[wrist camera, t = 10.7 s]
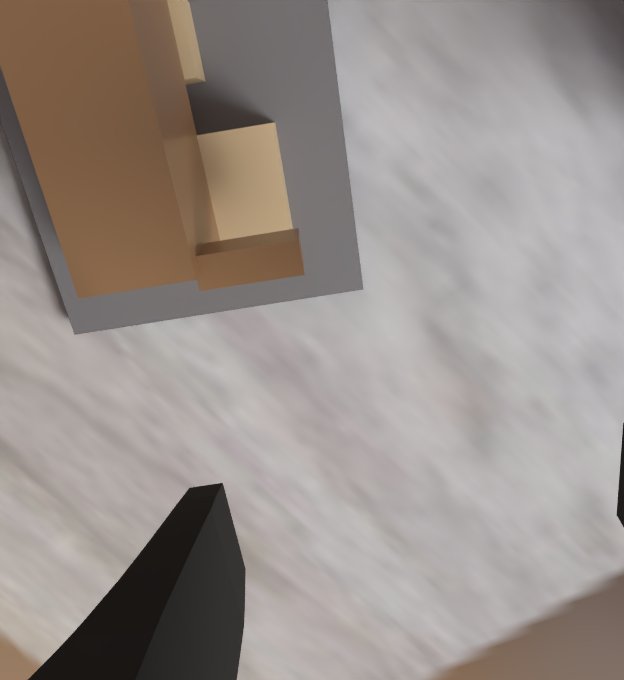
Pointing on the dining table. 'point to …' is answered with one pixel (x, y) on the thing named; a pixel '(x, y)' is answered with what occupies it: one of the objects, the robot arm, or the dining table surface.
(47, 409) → the dining table surface
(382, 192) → the dining table surface
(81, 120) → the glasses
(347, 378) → the dining table surface
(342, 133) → the gray tray with blocks
